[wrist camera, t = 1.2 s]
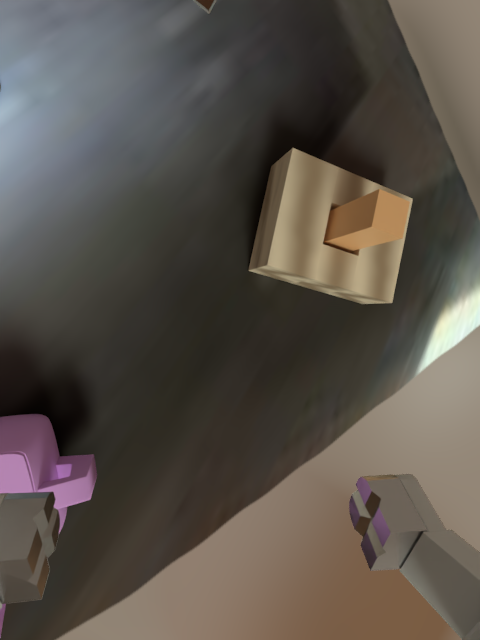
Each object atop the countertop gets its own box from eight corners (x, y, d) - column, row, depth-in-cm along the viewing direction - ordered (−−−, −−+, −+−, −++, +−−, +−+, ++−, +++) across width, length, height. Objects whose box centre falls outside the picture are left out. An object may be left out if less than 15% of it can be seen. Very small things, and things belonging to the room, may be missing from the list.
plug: (303, 248, 52) (371, 226, 39) (309, 219, 53) (379, 188, 39) (328, 256, 54) (402, 238, 40) (334, 228, 54) (409, 201, 41)
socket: (248, 270, 50) (267, 265, 44) (271, 166, 50) (292, 147, 45) (362, 303, 56) (392, 302, 50) (381, 210, 56) (412, 198, 51)
